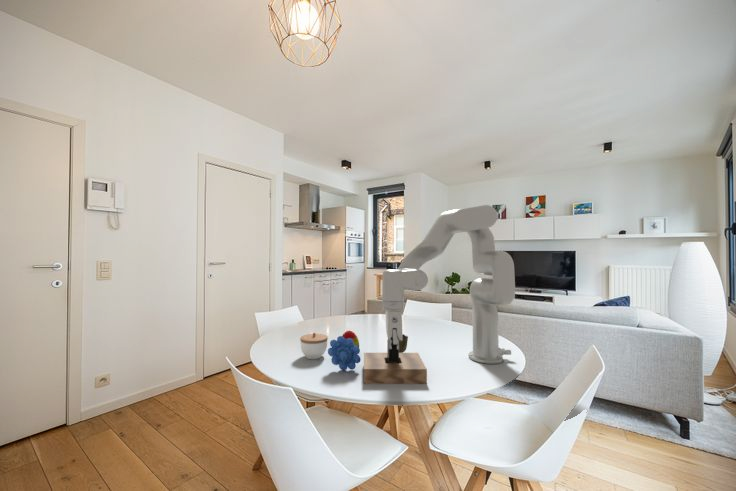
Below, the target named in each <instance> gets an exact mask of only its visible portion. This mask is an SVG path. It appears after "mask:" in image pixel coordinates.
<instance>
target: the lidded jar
mask: <svg viewBox="0 0 736 491" xmlns="http://www.w3.org/2000/svg"><path fill="white" fill-rule="evenodd" d="M328 338H329V337H328V336H327V334H323V333H316V332H312V333H309V334H304V335H302V336H300V338H299V339H300V348H301V352H302V354H303V355H304V356H305V358H306V359H309V360H317V359H321V358H322V356H323V355H324V354H325V352H326V351H327V348H328Z"/></svg>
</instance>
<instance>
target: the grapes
mask: <svg viewBox="0 0 736 491" xmlns="http://www.w3.org/2000/svg"><path fill="white" fill-rule="evenodd" d="M329 345H330V347H329V348H328V350H327V354H328V355H329V357H331V360H330V361H331V363H332V364H333V365H334V366H338V367H339V369H340V370H341V371H346V370H347V369H349V370H355V368H356V367H357V366H356V364H359V363H360V362H361V356H360V355H359V354H360V351H361V350H360V346H359V347H358V346H355V345H354V341H353V340H352V339H350V338H348V339H346V341H345V338H344V337H343V336H342V335H339V336H337V338H336V339H331V340H330V342H329ZM353 345H354V346H353Z"/></svg>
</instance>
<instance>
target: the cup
mask: <svg viewBox="0 0 736 491" xmlns="http://www.w3.org/2000/svg"><path fill="white" fill-rule="evenodd" d="M402 335H403V340H402V341H400V340H399V338H398V340H399V353H406V352H405V351H406V350H407V347H408V338H409V336H408V335H405V334H403V333H402Z"/></svg>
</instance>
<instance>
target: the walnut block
mask: <svg viewBox="0 0 736 491" xmlns="http://www.w3.org/2000/svg"><path fill="white" fill-rule="evenodd" d="M427 372H428V371H427V367H426V366H425V363H424V362H423V360H422V358H421V355H420V354H419V352H403V353H399V363H387V352H363V384H367V385H368V384H371V385H372V384H380V385H381V384H387V385H388V384H390V385H391V384H397V385H399V384H401V385H402V384H403V385H404V384H405V385H406V384H408V385H409V384H411V385H413V384H415V385H416V384H419V385H420V384H427V383H428V379H427V377H428V374H427Z"/></svg>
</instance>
